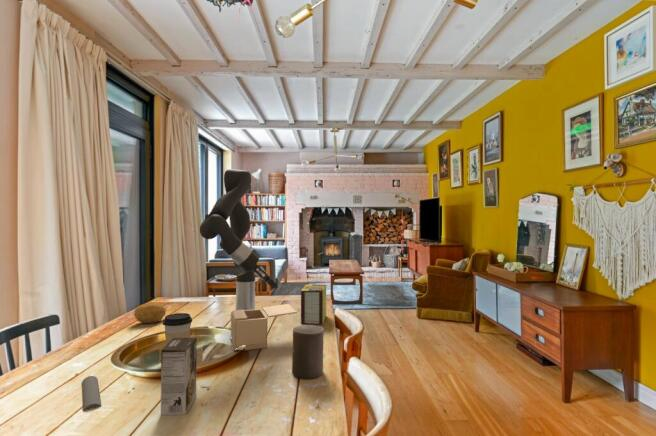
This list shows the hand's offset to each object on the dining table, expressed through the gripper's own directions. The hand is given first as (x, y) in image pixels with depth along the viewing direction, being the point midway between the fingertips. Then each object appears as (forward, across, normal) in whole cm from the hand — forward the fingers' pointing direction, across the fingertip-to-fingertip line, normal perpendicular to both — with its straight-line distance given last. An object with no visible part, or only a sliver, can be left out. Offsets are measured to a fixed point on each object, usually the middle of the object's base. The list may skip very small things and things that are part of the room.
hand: (275, 286), depth 142 cm
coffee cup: (-10, -9, +40) cm, 42 cm away
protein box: (+32, +23, -2) cm, 39 cm away
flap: (+4, 0, +10) cm, 11 cm away
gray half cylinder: (-25, -26, +56) cm, 66 cm away
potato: (-19, +43, +50) cm, 69 cm away
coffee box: (-9, -41, +39) cm, 57 cm away
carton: (+8, 0, +22) cm, 24 cm away
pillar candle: (+17, -33, +13) cm, 40 cm away
